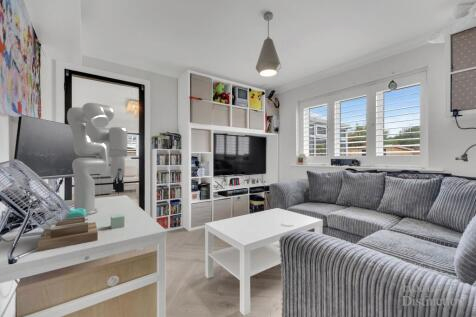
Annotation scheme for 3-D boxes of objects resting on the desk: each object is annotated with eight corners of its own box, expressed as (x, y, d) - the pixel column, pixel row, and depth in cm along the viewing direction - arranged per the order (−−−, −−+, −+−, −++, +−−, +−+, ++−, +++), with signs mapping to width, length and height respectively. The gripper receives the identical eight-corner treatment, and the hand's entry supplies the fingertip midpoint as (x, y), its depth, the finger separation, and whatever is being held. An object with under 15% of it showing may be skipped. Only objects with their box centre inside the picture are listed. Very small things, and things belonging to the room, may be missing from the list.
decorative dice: (62, 227, 96) (62, 210, 96) (84, 224, 101) (84, 207, 101) (63, 232, 90) (63, 214, 90) (86, 228, 95) (86, 211, 95)
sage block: (110, 226, 99) (110, 215, 99) (122, 224, 102) (122, 213, 102) (111, 229, 95) (111, 218, 95) (124, 227, 98) (124, 216, 98)
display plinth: (44, 236, 85) (44, 219, 85) (95, 228, 95) (95, 213, 95) (38, 251, 72) (38, 231, 72) (97, 240, 83) (97, 222, 83)
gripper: (106, 154, 103) (106, 189, 103) (111, 153, 89) (111, 194, 89) (124, 154, 108) (124, 188, 108) (130, 153, 94) (130, 192, 94)
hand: (118, 190), depth 99 cm, fingers open, 9 cm apart
